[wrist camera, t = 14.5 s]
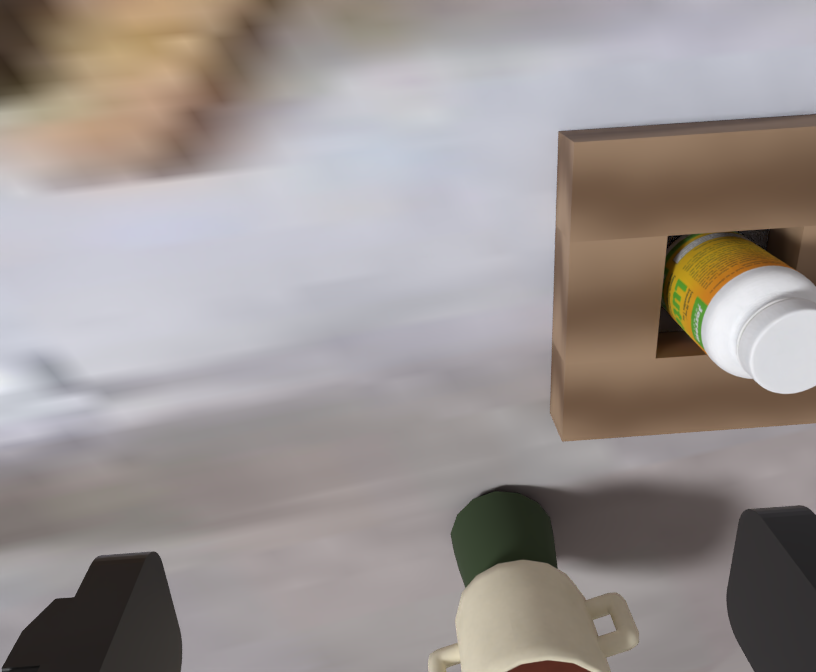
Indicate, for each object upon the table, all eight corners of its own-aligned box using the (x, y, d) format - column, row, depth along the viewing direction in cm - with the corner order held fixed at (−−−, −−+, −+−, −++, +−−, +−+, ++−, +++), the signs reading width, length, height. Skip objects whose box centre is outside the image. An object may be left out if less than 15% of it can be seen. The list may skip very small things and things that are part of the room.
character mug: (439, 591, 47) (460, 787, 36) (397, 512, 45) (405, 696, 33) (597, 537, 46) (674, 722, 34) (565, 452, 43) (636, 621, 31)
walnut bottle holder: (558, 131, 35) (573, 142, 32) (882, 109, 35) (925, 119, 33) (550, 412, 42) (562, 441, 39) (822, 393, 42) (853, 420, 39)
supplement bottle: (636, 255, 38) (715, 333, 29) (733, 205, 37) (844, 269, 28) (672, 335, 40) (756, 429, 31) (765, 288, 39) (877, 372, 30)
